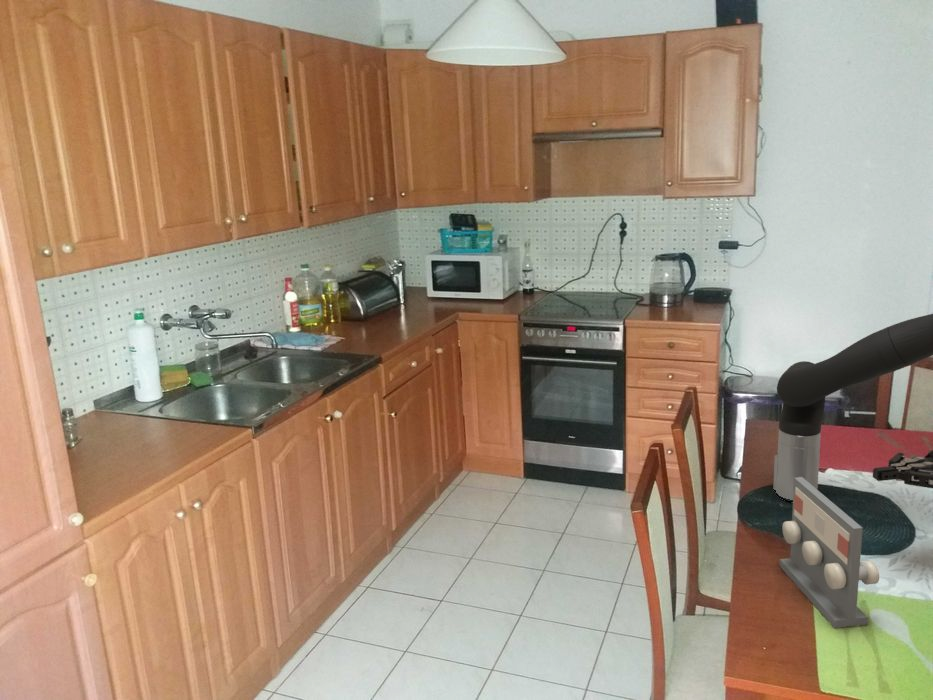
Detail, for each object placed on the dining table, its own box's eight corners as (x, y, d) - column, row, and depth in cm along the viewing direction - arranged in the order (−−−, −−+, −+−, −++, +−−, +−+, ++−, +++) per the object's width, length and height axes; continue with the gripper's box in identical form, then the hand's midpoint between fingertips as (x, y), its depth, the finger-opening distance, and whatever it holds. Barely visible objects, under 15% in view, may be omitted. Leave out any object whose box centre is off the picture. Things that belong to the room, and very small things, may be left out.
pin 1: (819, 533, 154) (820, 513, 153) (830, 544, 150) (832, 524, 149) (781, 537, 154) (782, 517, 153) (792, 548, 150) (793, 528, 148)
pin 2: (864, 576, 139) (866, 554, 138) (879, 589, 135) (880, 567, 133) (823, 580, 138) (824, 559, 137) (836, 594, 134) (838, 572, 133)
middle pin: (840, 553, 147) (842, 533, 145) (853, 565, 142) (855, 544, 141) (801, 557, 146) (802, 537, 145) (813, 569, 142) (814, 548, 141)
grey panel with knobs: (807, 563, 156) (812, 476, 151) (866, 625, 136) (875, 526, 131) (779, 566, 156) (783, 478, 151) (834, 628, 136) (841, 529, 131)
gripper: (938, 436, 155) (856, 444, 155) (986, 461, 143) (897, 470, 142) (935, 470, 157) (854, 478, 156) (982, 497, 145) (894, 507, 144)
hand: (875, 474), depth 149 cm, fingers closed
